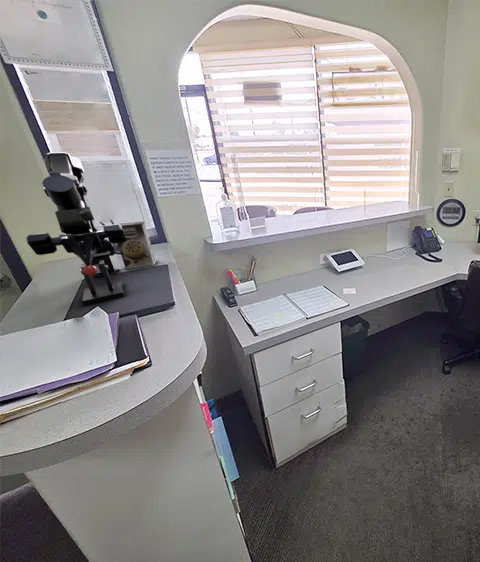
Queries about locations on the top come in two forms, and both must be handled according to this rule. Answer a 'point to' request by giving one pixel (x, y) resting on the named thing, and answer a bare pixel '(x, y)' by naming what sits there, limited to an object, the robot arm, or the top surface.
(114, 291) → the black lever stand
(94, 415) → the top surface
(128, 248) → the cookie box
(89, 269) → the lever
